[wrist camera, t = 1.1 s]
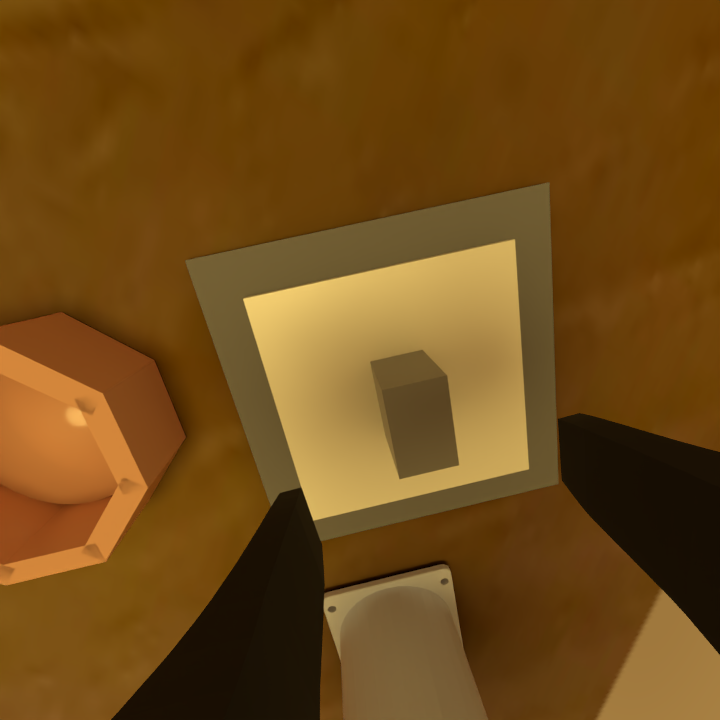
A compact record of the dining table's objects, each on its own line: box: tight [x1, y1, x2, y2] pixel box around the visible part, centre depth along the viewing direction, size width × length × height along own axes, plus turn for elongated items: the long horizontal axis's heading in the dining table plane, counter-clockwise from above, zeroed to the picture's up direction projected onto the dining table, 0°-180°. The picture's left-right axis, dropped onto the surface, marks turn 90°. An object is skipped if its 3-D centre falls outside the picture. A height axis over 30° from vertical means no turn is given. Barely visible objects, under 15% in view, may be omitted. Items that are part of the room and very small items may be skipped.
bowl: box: [0, 312, 186, 586], centre depth 15 cm, size 10×10×4 cm
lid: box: [243, 239, 529, 521], centre depth 16 cm, size 12×12×4 cm
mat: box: [185, 183, 558, 541], centre depth 18 cm, size 16×16×1 cm
